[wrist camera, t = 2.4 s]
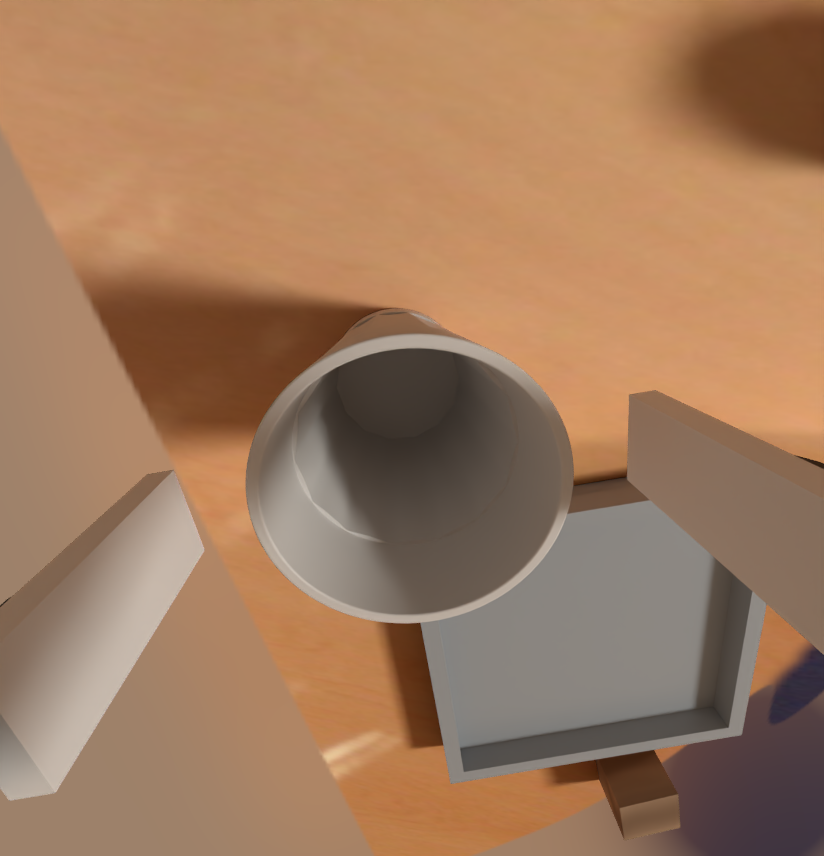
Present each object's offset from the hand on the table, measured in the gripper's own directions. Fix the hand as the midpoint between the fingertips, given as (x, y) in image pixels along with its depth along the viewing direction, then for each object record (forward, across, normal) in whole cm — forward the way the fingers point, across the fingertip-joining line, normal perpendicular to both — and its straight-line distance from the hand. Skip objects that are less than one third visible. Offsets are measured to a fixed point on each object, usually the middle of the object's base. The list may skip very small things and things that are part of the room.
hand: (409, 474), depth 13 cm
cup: (+10, 0, +1) cm, 10 cm away
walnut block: (+11, +12, -32) cm, 36 cm away
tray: (+10, +9, -17) cm, 22 cm away
